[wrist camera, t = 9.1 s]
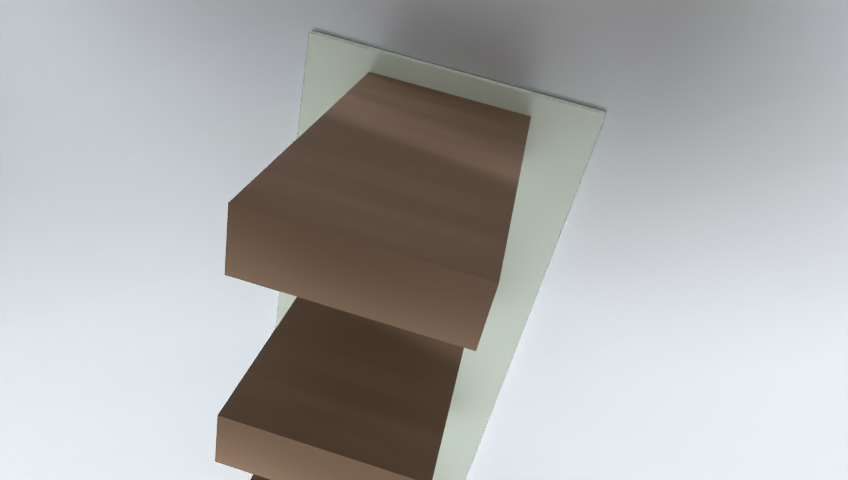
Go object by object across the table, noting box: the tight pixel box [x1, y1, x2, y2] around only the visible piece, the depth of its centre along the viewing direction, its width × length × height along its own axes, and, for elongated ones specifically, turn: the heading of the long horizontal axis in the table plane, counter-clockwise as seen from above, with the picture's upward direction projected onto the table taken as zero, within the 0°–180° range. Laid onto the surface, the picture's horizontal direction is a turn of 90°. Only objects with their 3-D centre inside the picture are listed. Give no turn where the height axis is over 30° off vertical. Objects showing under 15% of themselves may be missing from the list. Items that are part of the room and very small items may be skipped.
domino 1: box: [225, 72, 531, 351], centre depth 15 cm, size 2×5×9 cm, turn 78°
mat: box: [276, 31, 606, 480], centre depth 25 cm, size 9×25×1 cm, turn 168°
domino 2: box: [215, 297, 464, 480], centre depth 18 cm, size 2×5×9 cm, turn 78°
